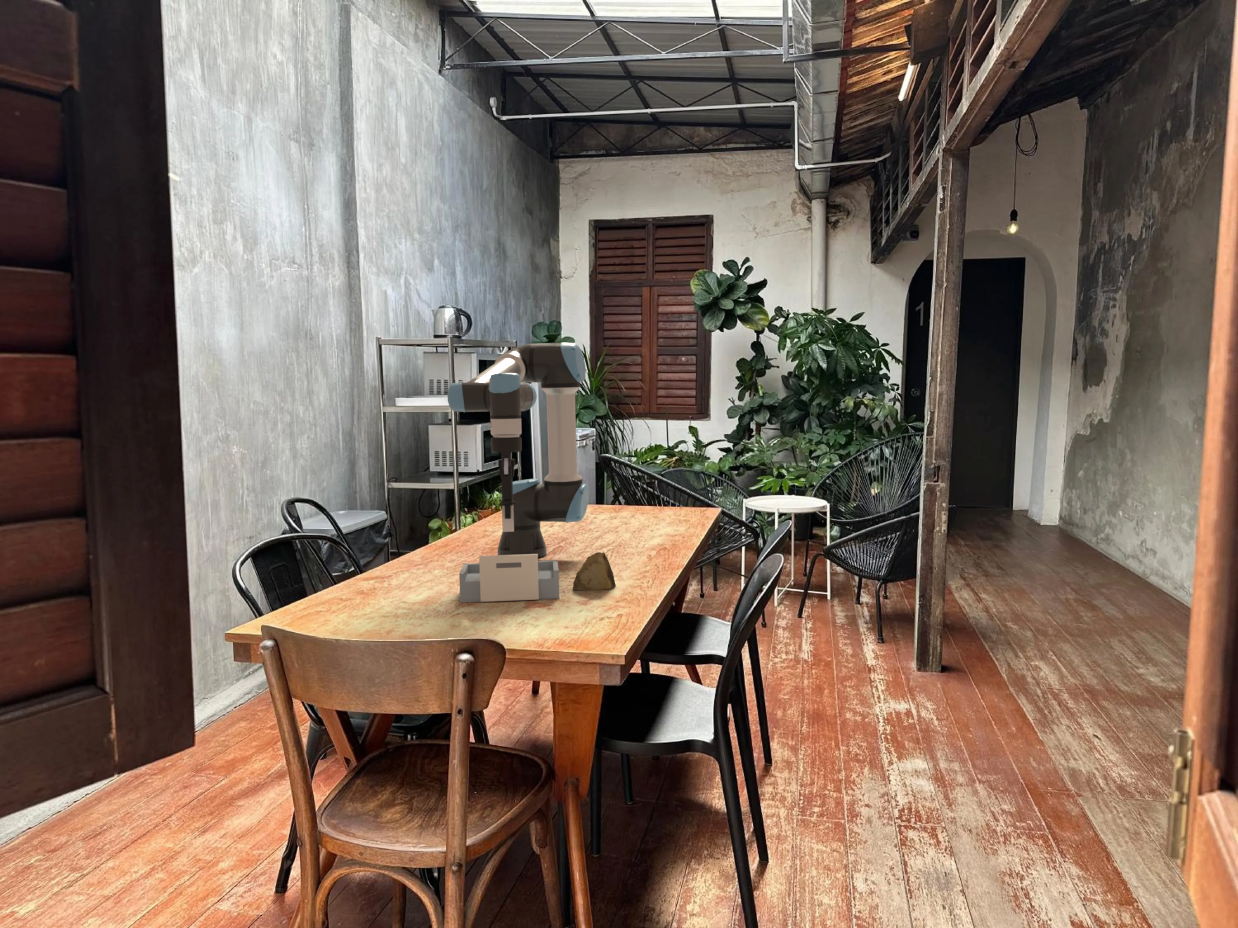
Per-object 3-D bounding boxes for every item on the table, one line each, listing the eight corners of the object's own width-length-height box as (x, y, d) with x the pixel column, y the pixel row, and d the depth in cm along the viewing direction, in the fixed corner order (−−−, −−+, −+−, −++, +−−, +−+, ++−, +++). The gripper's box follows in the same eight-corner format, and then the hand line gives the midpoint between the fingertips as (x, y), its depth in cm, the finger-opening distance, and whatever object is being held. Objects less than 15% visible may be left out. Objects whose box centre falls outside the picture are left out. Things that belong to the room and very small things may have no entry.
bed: (464, 590, 218) (463, 563, 217) (558, 586, 220) (557, 560, 219) (460, 602, 206) (459, 573, 205) (559, 598, 208) (558, 570, 207)
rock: (563, 583, 213) (599, 581, 209) (568, 553, 218) (603, 550, 214) (581, 601, 222) (616, 599, 218) (586, 571, 226) (620, 568, 222)
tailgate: (480, 600, 206) (479, 555, 205) (538, 598, 207) (537, 553, 206) (480, 601, 205) (479, 556, 204) (538, 599, 206) (537, 554, 205)
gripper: (492, 435, 214) (494, 527, 216) (489, 437, 201) (491, 535, 203) (521, 434, 215) (524, 526, 217) (520, 437, 202) (523, 535, 204)
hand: (508, 531), depth 210 cm, fingers closed
